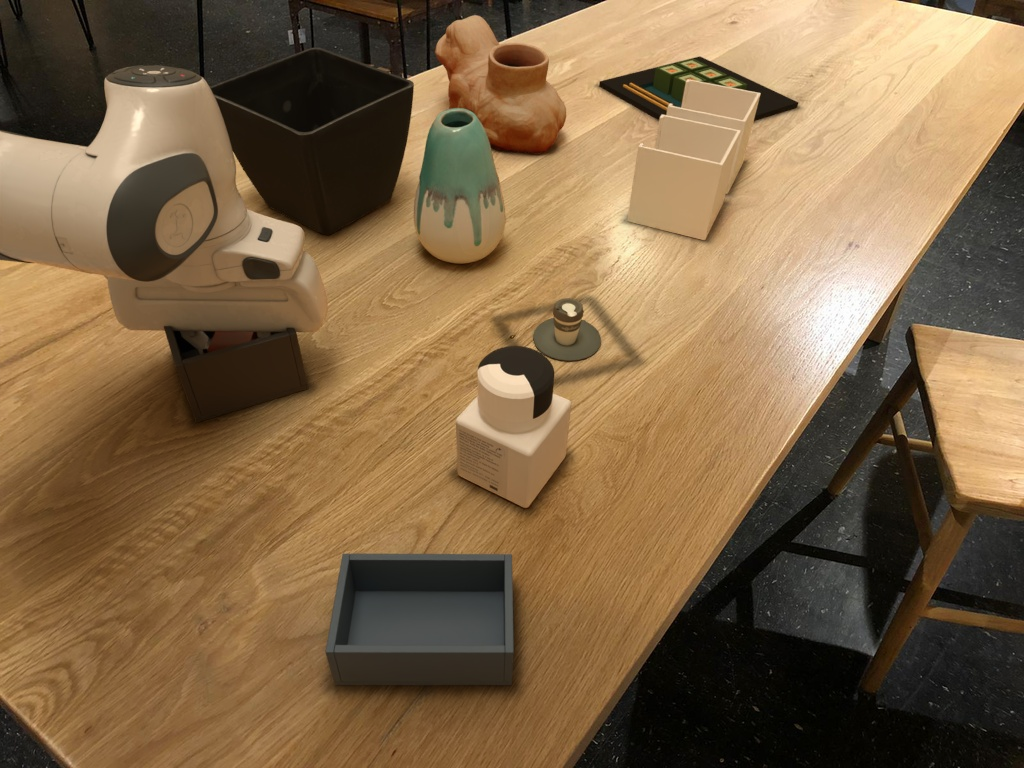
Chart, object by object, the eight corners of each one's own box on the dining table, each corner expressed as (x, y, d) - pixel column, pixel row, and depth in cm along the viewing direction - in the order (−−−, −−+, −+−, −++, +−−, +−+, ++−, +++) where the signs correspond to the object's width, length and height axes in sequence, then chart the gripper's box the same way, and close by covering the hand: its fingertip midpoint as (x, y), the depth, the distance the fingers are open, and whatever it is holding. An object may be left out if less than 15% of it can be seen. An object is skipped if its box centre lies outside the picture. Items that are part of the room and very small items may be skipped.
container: (499, 425, 77) (501, 324, 68) (566, 456, 74) (578, 355, 65) (456, 476, 72) (452, 374, 63) (527, 511, 69) (533, 409, 60)
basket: (196, 423, 76) (175, 366, 71) (175, 355, 83) (155, 299, 78) (308, 388, 80) (296, 332, 75) (279, 326, 87) (267, 271, 82)
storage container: (704, 240, 103) (722, 165, 95) (627, 221, 106) (638, 146, 98) (743, 162, 120) (760, 93, 112) (675, 147, 123) (687, 79, 115)
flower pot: (325, 258, 97) (304, 132, 86) (230, 209, 105) (199, 88, 94) (425, 199, 109) (418, 81, 97) (332, 159, 117) (315, 46, 105)
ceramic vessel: (482, 89, 137) (482, 0, 127) (582, 142, 123) (591, 47, 113) (418, 108, 131) (413, 16, 121) (516, 167, 116) (519, 68, 106)
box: (334, 685, 57) (324, 652, 53) (350, 588, 63) (342, 553, 59) (511, 685, 57) (513, 652, 54) (510, 589, 63) (512, 553, 60)
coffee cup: (590, 299, 92) (594, 265, 89) (636, 361, 84) (643, 326, 81) (497, 320, 89) (497, 285, 86) (536, 386, 81) (538, 351, 78)
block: (216, 379, 80) (206, 350, 77) (226, 354, 83) (217, 325, 80) (254, 380, 80) (246, 351, 77) (263, 355, 83) (255, 326, 80)
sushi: (599, 86, 140) (601, 65, 137) (699, 60, 150) (702, 41, 148) (693, 139, 125) (697, 117, 122) (797, 107, 135) (803, 86, 133)
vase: (450, 285, 94) (446, 148, 82) (398, 244, 100) (386, 111, 88) (523, 253, 99) (528, 121, 87) (469, 216, 106) (467, 87, 93)
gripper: (76, 262, 68) (126, 376, 78) (307, 265, 69) (328, 377, 78) (103, 224, 73) (147, 336, 82) (319, 227, 73) (338, 338, 83)
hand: (237, 356), depth 80 cm, fingers closed on block, 4 cm apart
